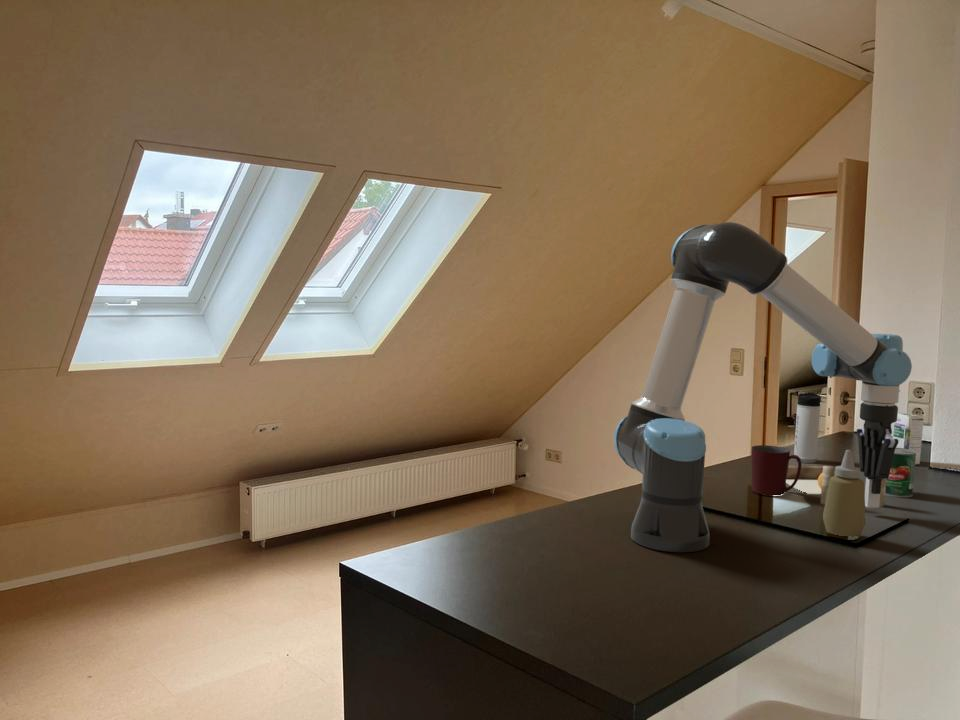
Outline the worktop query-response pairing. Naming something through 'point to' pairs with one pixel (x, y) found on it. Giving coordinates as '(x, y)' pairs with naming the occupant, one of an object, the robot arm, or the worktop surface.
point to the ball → (820, 480)
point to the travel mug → (807, 427)
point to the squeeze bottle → (845, 500)
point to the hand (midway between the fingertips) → (871, 506)
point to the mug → (771, 469)
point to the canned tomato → (901, 474)
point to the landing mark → (806, 486)
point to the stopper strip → (805, 472)
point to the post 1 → (826, 481)
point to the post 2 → (882, 493)
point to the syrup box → (909, 433)
